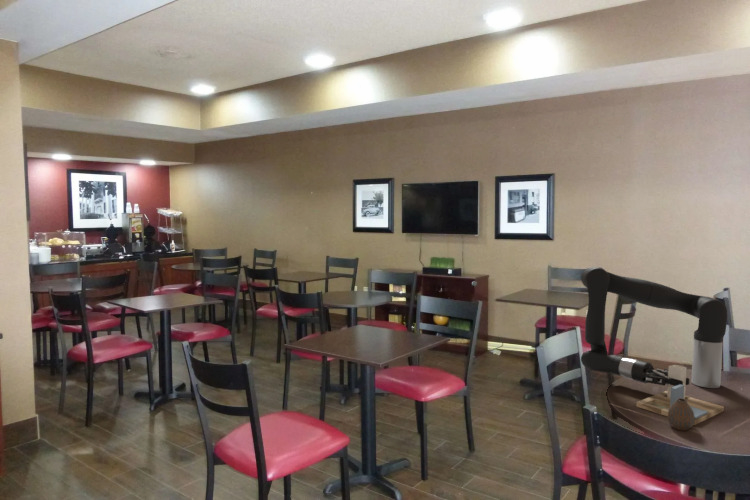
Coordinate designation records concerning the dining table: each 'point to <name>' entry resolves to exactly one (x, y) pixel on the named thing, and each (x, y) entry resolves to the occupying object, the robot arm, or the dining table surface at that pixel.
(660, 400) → the puzzle board
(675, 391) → the blue l-shaped block
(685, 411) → the vase
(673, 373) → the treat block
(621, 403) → the dining table surface
